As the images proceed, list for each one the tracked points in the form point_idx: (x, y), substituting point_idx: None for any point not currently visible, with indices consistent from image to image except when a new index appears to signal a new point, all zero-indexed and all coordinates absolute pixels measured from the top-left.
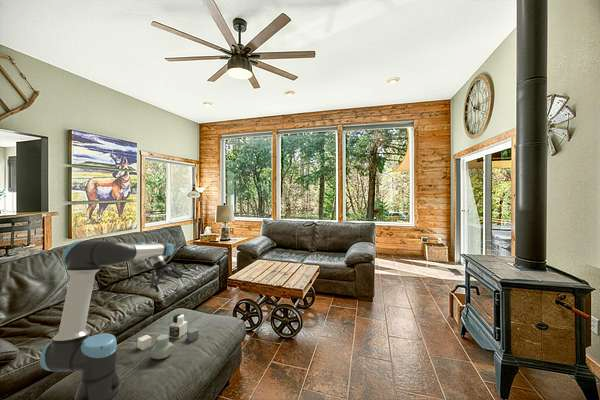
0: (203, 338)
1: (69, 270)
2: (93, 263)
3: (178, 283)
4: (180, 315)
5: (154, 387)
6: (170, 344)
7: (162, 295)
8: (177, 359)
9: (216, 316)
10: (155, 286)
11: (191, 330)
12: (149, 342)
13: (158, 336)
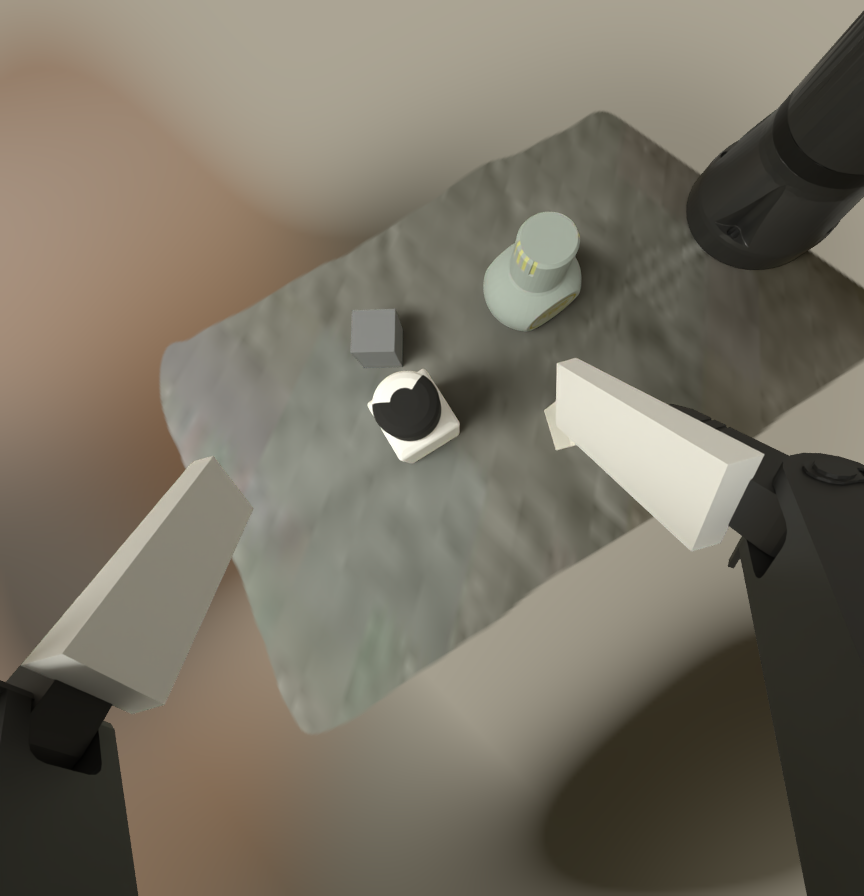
0: (349, 315)
1: None
2: None
3: (209, 595)
4: (395, 389)
5: (591, 134)
6: (504, 256)
7: (562, 381)
8: (485, 236)
9: None
10: (819, 467)
11: (379, 330)
12: None
13: (565, 257)
